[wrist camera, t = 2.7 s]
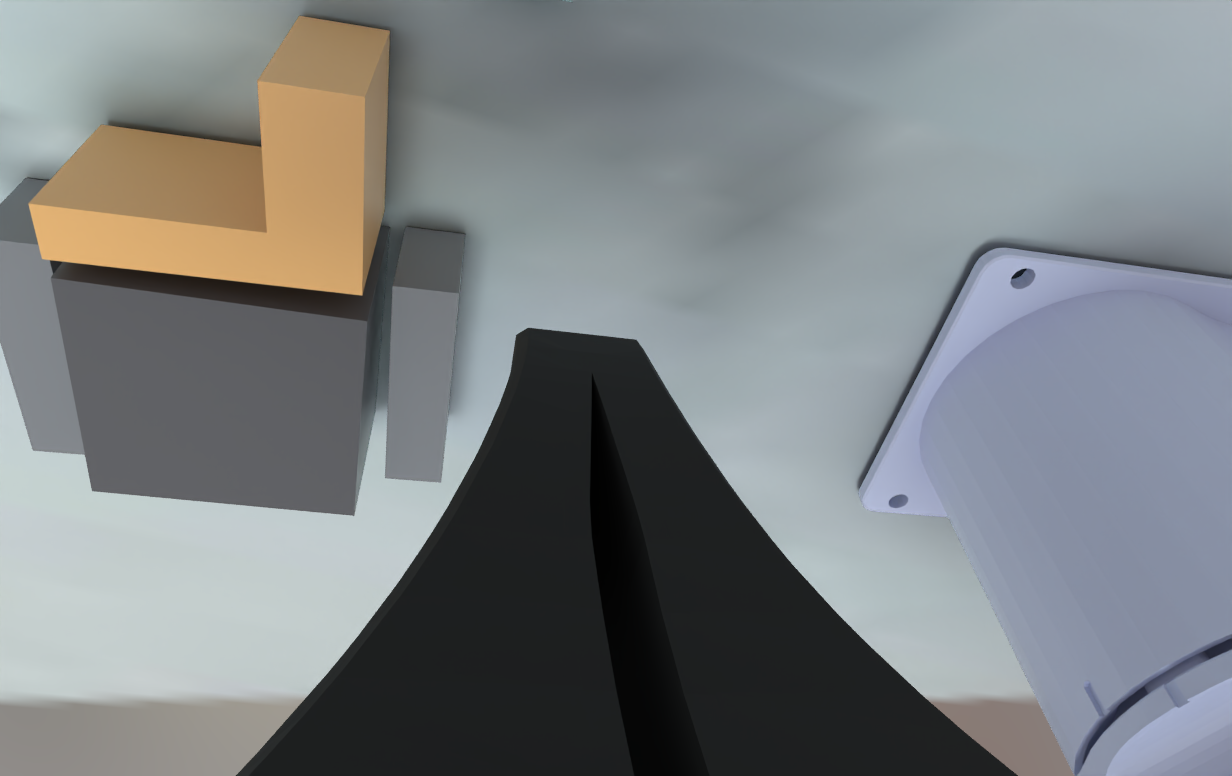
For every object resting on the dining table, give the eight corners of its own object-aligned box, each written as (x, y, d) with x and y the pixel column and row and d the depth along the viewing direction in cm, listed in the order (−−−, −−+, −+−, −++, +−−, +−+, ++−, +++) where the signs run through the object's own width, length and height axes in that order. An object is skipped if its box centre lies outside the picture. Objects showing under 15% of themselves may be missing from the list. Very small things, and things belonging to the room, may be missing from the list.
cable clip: (465, 234, 18) (459, 293, 16) (448, 416, 21) (440, 482, 19) (25, 178, 17) (-32, 236, 15) (75, 382, 20) (32, 450, 18)
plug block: (390, 222, 18) (367, 321, 15) (376, 406, 21) (354, 515, 18) (126, 180, 17) (50, 278, 14) (150, 379, 20) (92, 491, 17)
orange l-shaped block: (390, 30, 15) (364, 96, 13) (384, 211, 17) (362, 295, 15) (74, -21, 14) (-12, 39, 12) (110, 175, 17) (42, 259, 14)
